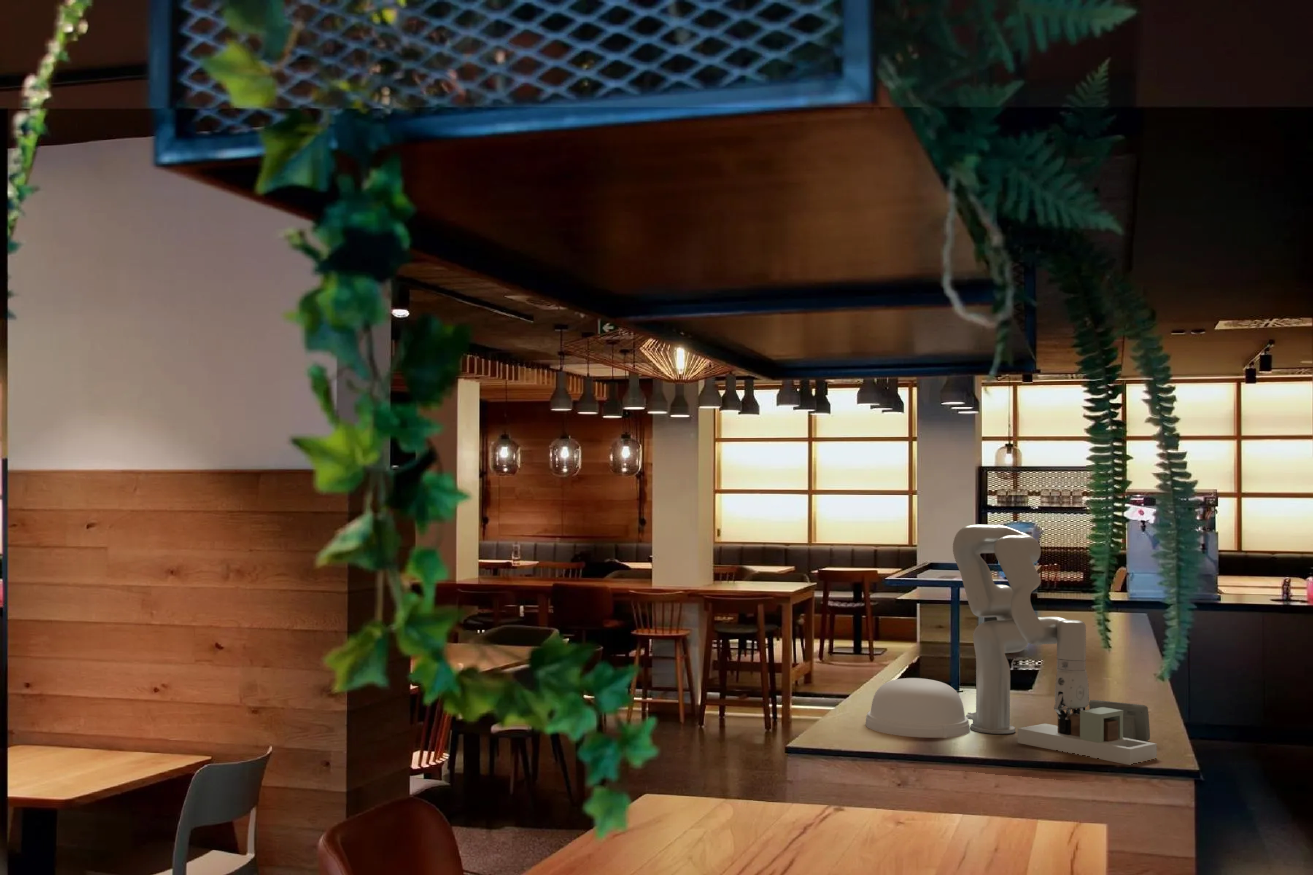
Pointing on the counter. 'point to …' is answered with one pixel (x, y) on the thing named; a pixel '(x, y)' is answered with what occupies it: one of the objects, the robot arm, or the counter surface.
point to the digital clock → (1129, 718)
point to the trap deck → (1087, 745)
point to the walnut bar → (1109, 727)
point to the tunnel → (1098, 723)
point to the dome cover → (917, 709)
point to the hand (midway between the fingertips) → (1070, 732)
